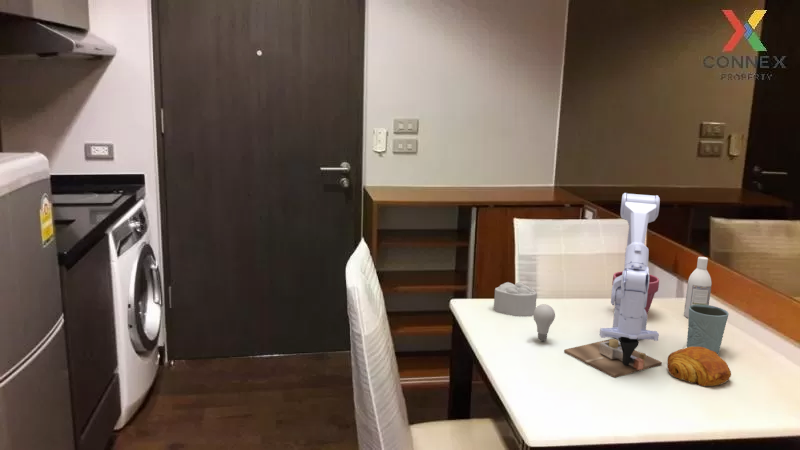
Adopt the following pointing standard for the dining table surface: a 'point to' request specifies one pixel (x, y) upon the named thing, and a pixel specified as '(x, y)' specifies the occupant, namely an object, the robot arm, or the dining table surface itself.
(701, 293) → the bath foam
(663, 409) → the dining table surface
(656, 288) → the plant pot
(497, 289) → the lumpy-topped squat cylinder
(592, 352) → the socket base
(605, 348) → the square frame with handle
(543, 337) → the lightbulb
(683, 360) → the croissant
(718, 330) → the embossed teal cup
